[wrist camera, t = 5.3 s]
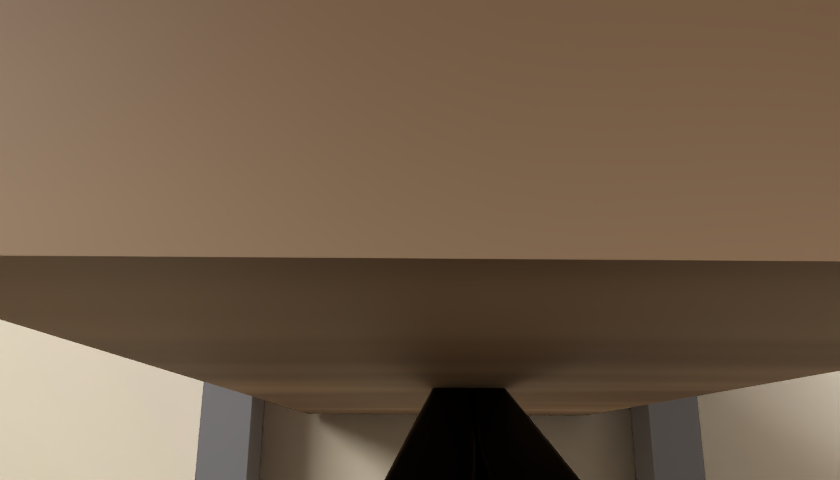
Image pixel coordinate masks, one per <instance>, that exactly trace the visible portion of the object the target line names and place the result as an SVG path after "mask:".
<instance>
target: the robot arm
mask: <svg viewBox="0 0 840 480" xmlns="http://www.w3.org/2000/svg"><path fill="white" fill-rule="evenodd" d="M385 480H580V479H579V478H578V477H577V475H576V474H575V473H574V472H573V471H572V469H571V468H570V467H569V466H568V464H567V463H566V462H565V461H564V460H563V458H562V457H561V456H560V455H559V453H558V452H557V451H556V450H555V448H554V447H553V446H552V445H551V444H550V442H549V441H548V440H547V439H546V437H545V436H544V435H543V434H542V433H541V431H540V430H539V429H538V428H537V426H536V425H535V424H534V423H533V422H532V420H531V419H530V418H529V417H528V415H527V414H526V413H525V412H524V411H523V409H522V408H521V407H520V406H519V404H518V403H517V402H516V401H515V400H514V398H513V397H512V396H511V395H510V393H509V392H508V391H507V390H506V388H469V389H468V388H432V390H431V392H430V394H429V396H428V398H427V400H426V402H425V403H424V405H423V407H422V409H421V411H420V413H419V415H418V417H417V419H416V421H415V423H414V424H413V426H412V428H411V430H410V432H409V434H408V436H407V438H406V440H405V442H404V444H403V446H402V447H401V449H400V451H399V453H398V455H397V457H396V459H395V461H394V463H393V465H392V467H391V468H390V470H389V472H388V474H387V476H386V478H385Z"/></svg>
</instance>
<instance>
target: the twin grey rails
mask: <svg viewBox="0 0 840 480" xmlns="http://www.w3.org/2000/svg"><path fill="white" fill-rule="evenodd" d="M263 413H264V400H262V399H259V398H256V397H253V396H249V395H246V394H243V393H240V392H236V391H233V390H230V389H226V388H223V387H220V386H217V385H213V384H210V383H207V382H204V385H203V396H202V407H201V418H200V429H199V440H198V451H197V462H196V473H195V480H259V474H260V458H261V443H262V428H263ZM631 418H632V431H633V444H634V457H635V469H636V480H706V479H705V470H704V460H703V451H702V441H701V431H700V422H699V412H698V403H697V396H693V397H687V398H681V399H676V400H670V401H664V402H659V403H653V404H647V405H642V406H636V407H631Z"/></svg>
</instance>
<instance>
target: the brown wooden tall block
mask: <svg viewBox="0 0 840 480" xmlns="http://www.w3.org/2000/svg"><path fill="white" fill-rule="evenodd" d="M0 319H1V320H4V321H8V322H11V323H14V324H17V325H21V326H24V327H27V328H30V329H34V330H37V331H40V332H43V333H47V334H50V335H53V336H57V337H60V338H63V339H66V340H70V341H73V342H76V343H79V344H83V345H86V346H89V347H92V348H96V349H99V350H102V351H106V352H109V353H112V354H115V355H119V356H122V357H125V358H128V359H132V360H135V361H138V362H142V363H145V364H148V365H151V366H155V367H158V368H161V369H164V370H168V371H171V372H174V373H177V374H181V375H184V376H187V377H191V378H194V379H197V380H200V381H204V382H207V383H210V384H213V385H217V386H220V387H223V388H226V389H230V390H233V391H236V392H240V393H243V394H246V395H249V396H253V397H256V398H259V399H262V400H266V401H269V402H272V403H276V404H279V405H282V406H285V407H289V408H292V409H295V410H298V411H302V412H305V413H308V414H419V413H420V411H421V409H422V407H423V405H424V403H425V402H426V400H427V398H428V396H429V394H430V392H431V390H432V388H468V389H469V388H506V390H507V391H508V392H509V393H510V395H511V396H512V397H513V398H514V400H515V401H516V402H517V403H518V404H519V406H520V407H521V408H522V409H523V411H524V412H525V413H526V414H527V415H591V414H596V413H602V412H608V411H613V410H619V409H625V408H630V407H636V406H642V405H647V404H653V403H659V402H664V401H670V400H676V399H681V398H687V397H693V396H698V395H704V394H710V393H715V392H721V391H727V390H732V389H738V388H744V387H749V386H755V385H761V384H766V383H772V382H778V381H783V380H789V379H795V378H800V377H806V376H812V375H817V374H823V373H829V372H834V371H840V0H0Z"/></svg>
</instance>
